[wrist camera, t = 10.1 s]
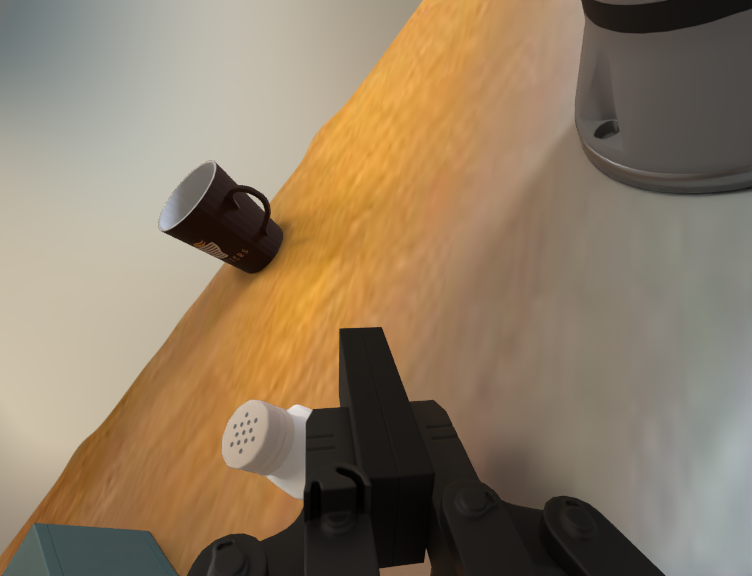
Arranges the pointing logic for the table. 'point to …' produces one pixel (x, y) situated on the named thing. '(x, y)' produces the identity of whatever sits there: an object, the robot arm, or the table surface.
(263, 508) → the table surface
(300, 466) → the pepper shaker
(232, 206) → the coffee mug
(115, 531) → the cabinet
